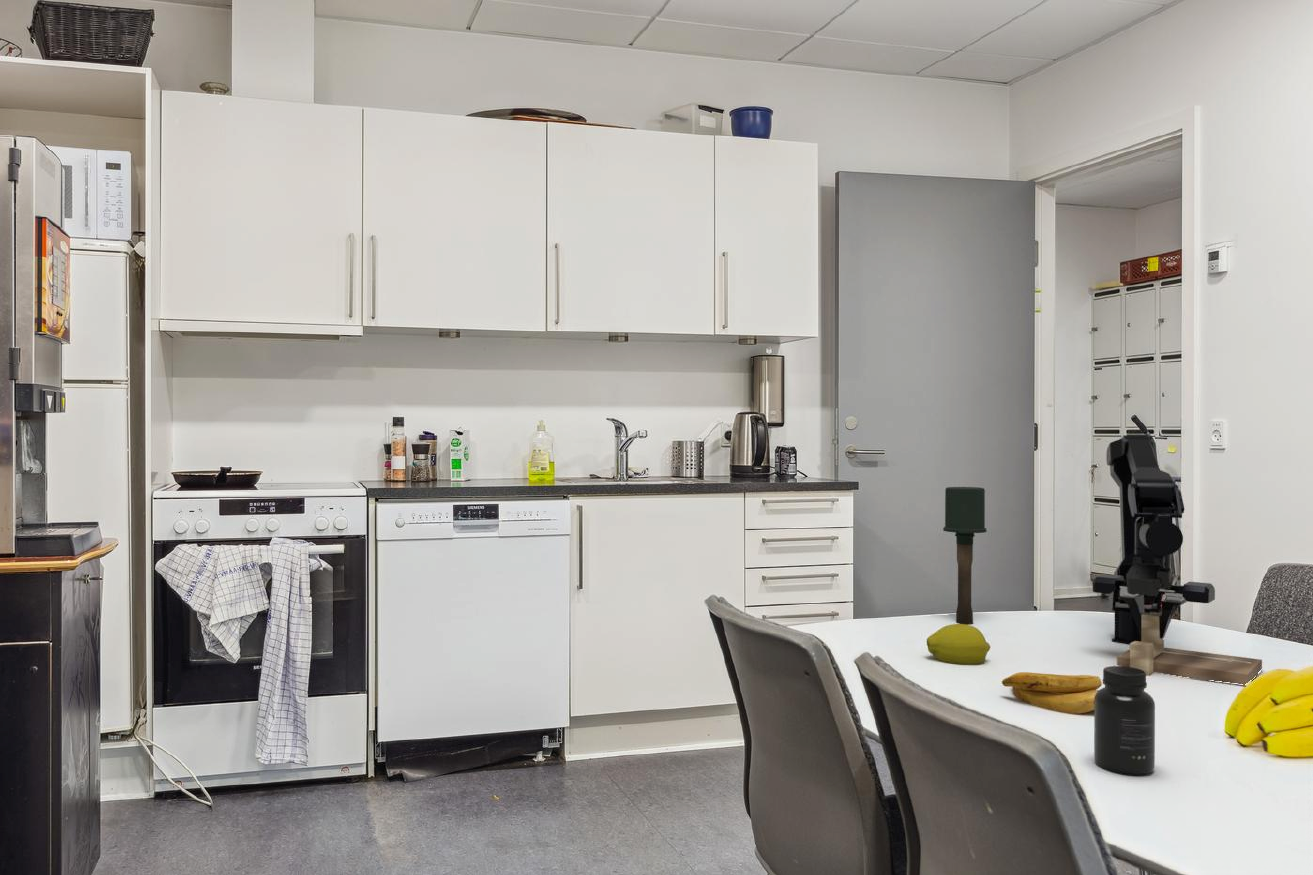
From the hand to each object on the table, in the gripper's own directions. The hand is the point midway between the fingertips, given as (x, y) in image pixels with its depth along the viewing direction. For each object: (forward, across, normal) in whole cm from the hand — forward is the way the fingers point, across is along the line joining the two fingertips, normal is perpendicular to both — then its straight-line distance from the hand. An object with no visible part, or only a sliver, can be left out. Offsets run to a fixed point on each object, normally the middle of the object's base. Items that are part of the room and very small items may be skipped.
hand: (1152, 636), depth 177 cm
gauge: (+3, 0, +4) cm, 5 cm away
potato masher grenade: (+6, -38, +8) cm, 39 cm away
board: (+5, +6, +2) cm, 8 cm away
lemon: (+6, -25, -24) cm, 36 cm away
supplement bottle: (+6, +11, -60) cm, 61 cm away
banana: (+6, -4, -35) cm, 36 cm away
